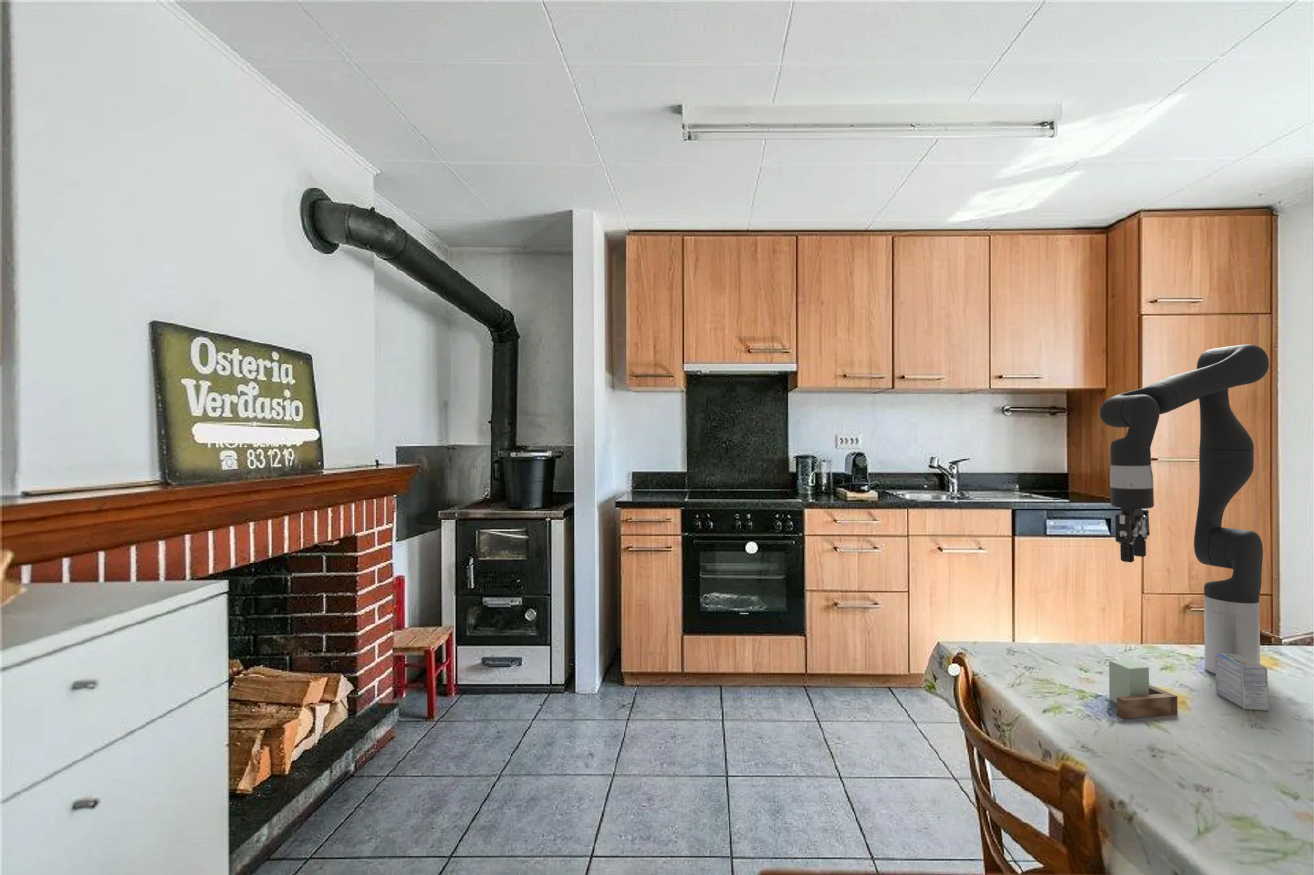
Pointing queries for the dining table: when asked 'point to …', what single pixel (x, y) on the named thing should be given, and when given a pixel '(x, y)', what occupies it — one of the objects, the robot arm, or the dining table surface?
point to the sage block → (1127, 679)
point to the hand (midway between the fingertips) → (1133, 558)
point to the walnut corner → (1147, 704)
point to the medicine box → (1242, 681)
